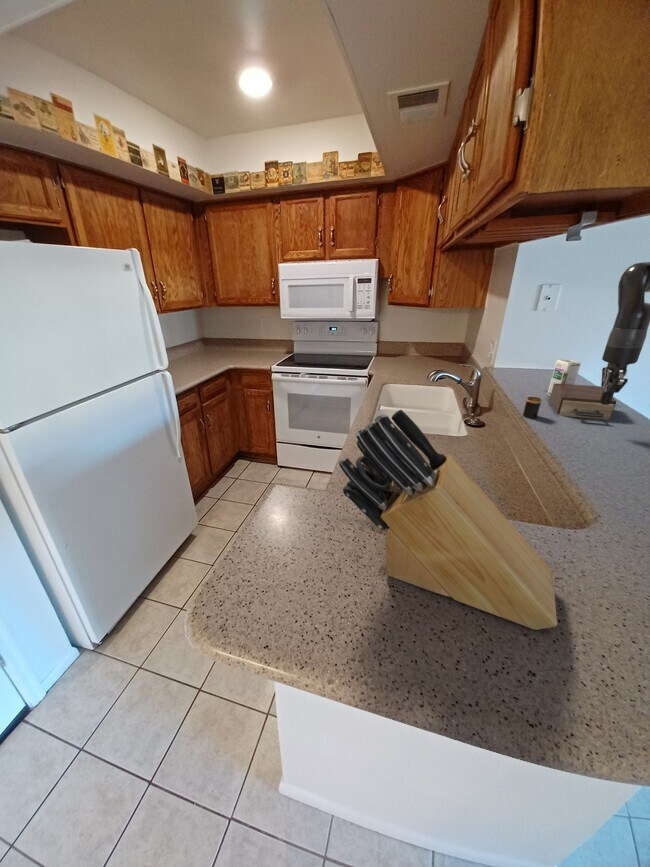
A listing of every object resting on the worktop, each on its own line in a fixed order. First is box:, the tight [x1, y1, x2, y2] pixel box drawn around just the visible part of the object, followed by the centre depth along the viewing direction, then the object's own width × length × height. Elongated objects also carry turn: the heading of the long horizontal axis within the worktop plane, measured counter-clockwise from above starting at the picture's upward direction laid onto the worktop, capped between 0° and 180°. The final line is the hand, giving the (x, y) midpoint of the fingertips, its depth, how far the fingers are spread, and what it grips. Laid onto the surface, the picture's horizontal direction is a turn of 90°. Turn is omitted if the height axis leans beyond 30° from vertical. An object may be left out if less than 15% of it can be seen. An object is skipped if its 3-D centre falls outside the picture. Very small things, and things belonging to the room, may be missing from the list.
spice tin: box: [522, 396, 543, 420], centre depth 111 cm, size 4×4×8 cm
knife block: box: [338, 409, 558, 631], centre depth 54 cm, size 11×35×31 cm, turn 62°
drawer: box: [558, 400, 615, 421], centre depth 112 cm, size 18×14×6 cm
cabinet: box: [548, 383, 617, 418], centre depth 115 cm, size 15×15×8 cm
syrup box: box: [546, 358, 582, 397], centre depth 127 cm, size 6×6×14 cm
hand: (604, 403), depth 97 cm, fingers closed
